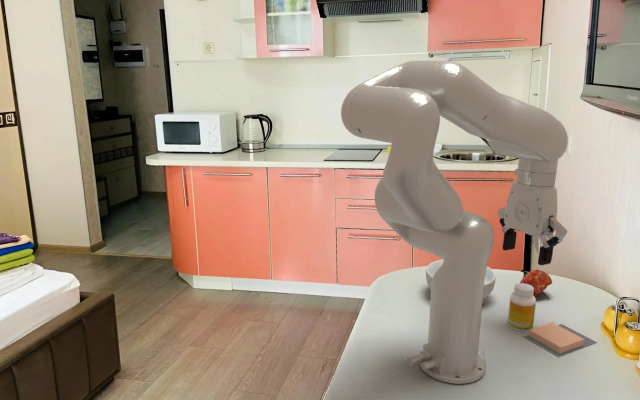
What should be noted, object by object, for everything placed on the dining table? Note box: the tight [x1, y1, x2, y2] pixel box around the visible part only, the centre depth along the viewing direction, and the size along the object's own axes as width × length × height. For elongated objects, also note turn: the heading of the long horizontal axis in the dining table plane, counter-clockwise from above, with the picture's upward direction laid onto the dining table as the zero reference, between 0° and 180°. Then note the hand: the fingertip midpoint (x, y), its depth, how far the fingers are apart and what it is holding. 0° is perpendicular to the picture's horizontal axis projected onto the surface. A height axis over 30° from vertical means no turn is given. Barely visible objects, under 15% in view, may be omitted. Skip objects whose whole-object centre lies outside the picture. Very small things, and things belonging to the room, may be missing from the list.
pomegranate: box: [519, 269, 553, 300], centre depth 132 cm, size 7×7×10 cm
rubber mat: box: [522, 323, 598, 358], centre depth 113 cm, size 12×9×1 cm
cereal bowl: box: [425, 258, 496, 300], centre depth 133 cm, size 17×17×7 cm
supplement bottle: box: [507, 282, 537, 332], centre depth 118 cm, size 5×5×10 cm
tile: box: [528, 321, 584, 354], centre depth 112 cm, size 2×8×7 cm
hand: (525, 256), depth 114 cm, fingers open, 9 cm apart
